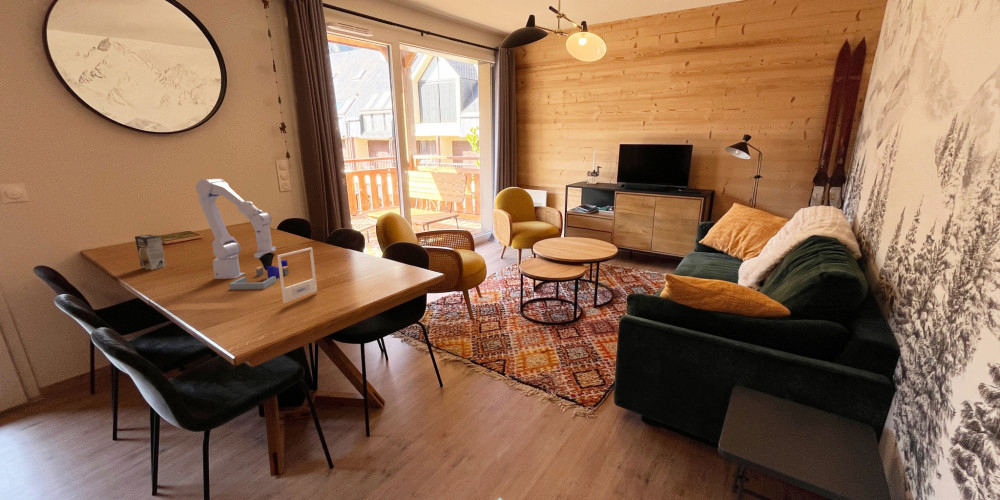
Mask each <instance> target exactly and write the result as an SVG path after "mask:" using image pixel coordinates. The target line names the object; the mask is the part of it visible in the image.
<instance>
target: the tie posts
mask: <svg viewBox="0 0 1000 500" xmlns="http://www.w3.org/2000/svg"><path fill="white" fill-rule="evenodd" d="M255 271H256V272H255V273H256V276H257V277H260V276H262V275H264V267H263V266H258V267H255ZM282 271H283V276H287V275H288V274H290V273H289V265H288V266H284V267H282Z"/></svg>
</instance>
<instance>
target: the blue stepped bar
mask: <svg viewBox="0 0 1000 500" xmlns="http://www.w3.org/2000/svg"><path fill="white" fill-rule="evenodd" d="M281 264H282V267H284V266H288V267H289V264H288V259H281ZM266 271H267V272H266V274H267V279H269V278H271V277H272V276H276V280H277V279H278V278H279V279H280V274H279V266H278V265H277V266H276V265H272V266H267V270H266Z"/></svg>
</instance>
